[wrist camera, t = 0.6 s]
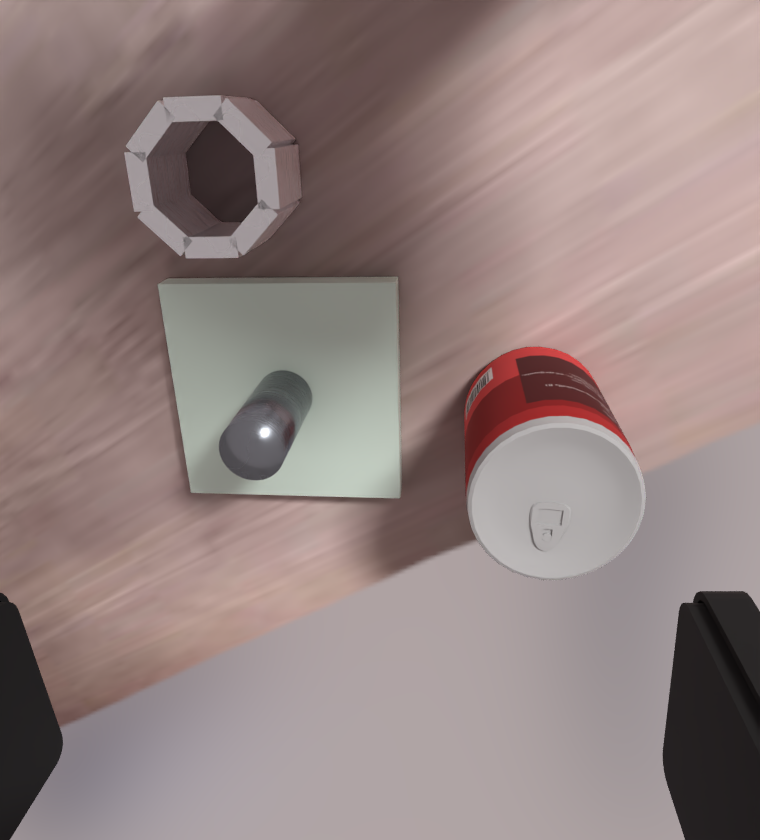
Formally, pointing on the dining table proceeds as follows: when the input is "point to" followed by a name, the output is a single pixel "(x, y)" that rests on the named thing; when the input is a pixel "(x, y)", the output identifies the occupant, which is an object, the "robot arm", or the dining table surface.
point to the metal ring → (169, 180)
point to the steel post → (266, 426)
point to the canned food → (548, 467)
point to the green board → (297, 352)
